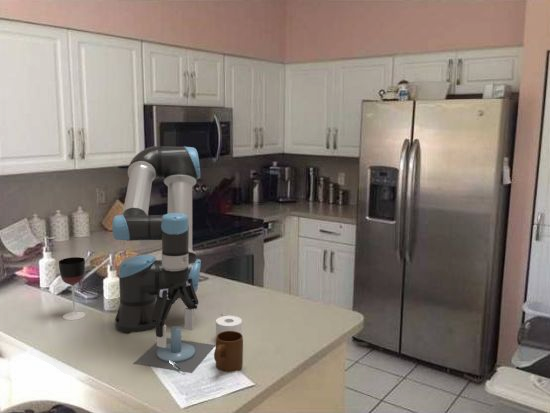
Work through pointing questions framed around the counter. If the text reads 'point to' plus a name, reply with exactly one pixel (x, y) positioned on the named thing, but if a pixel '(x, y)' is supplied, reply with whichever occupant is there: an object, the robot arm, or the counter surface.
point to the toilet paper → (228, 324)
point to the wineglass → (72, 280)
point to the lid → (176, 348)
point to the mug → (229, 351)
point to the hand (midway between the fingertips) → (175, 337)
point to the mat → (185, 366)
